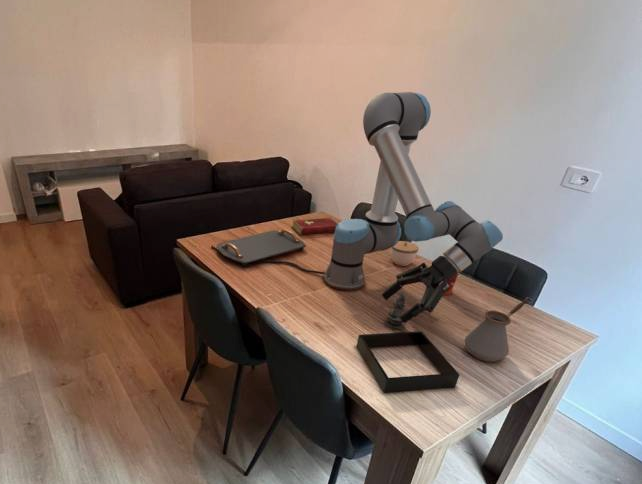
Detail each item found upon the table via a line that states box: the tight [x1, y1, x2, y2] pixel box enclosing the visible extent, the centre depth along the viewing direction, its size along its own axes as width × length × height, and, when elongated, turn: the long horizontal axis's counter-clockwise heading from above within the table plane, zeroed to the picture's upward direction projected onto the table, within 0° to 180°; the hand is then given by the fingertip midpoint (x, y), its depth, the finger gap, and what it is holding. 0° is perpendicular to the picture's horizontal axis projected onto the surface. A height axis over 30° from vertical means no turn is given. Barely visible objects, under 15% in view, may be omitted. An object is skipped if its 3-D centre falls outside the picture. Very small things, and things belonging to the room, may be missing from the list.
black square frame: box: [356, 330, 460, 394], centre depth 112 cm, size 20×20×4 cm
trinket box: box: [390, 240, 420, 267], centre depth 170 cm, size 11×11×9 cm
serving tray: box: [216, 228, 307, 268], centre depth 178 cm, size 39×23×6 cm, turn 125°
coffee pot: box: [464, 296, 534, 363], centre depth 117 cm, size 21×12×15 cm, turn 121°
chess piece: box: [385, 292, 407, 330], centre depth 128 cm, size 6×6×12 cm
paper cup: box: [443, 271, 460, 296], centre depth 148 cm, size 8×8×14 cm
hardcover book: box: [291, 217, 339, 237], centre depth 202 cm, size 12×21×4 cm, turn 105°
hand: (392, 308), depth 128 cm, fingers open, 13 cm apart
